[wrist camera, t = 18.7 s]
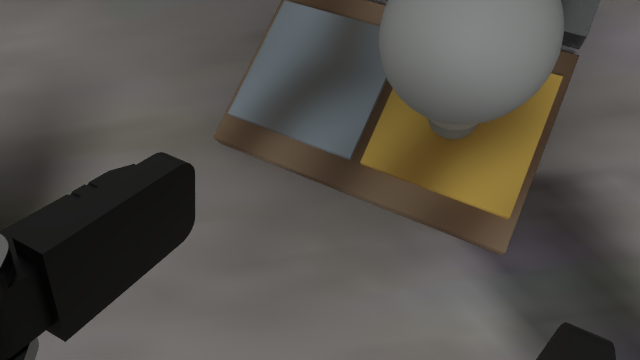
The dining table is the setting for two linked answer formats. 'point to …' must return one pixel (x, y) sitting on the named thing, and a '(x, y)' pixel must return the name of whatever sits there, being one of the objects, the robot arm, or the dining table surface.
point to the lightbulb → (468, 57)
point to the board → (383, 126)
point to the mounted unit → (577, 20)
